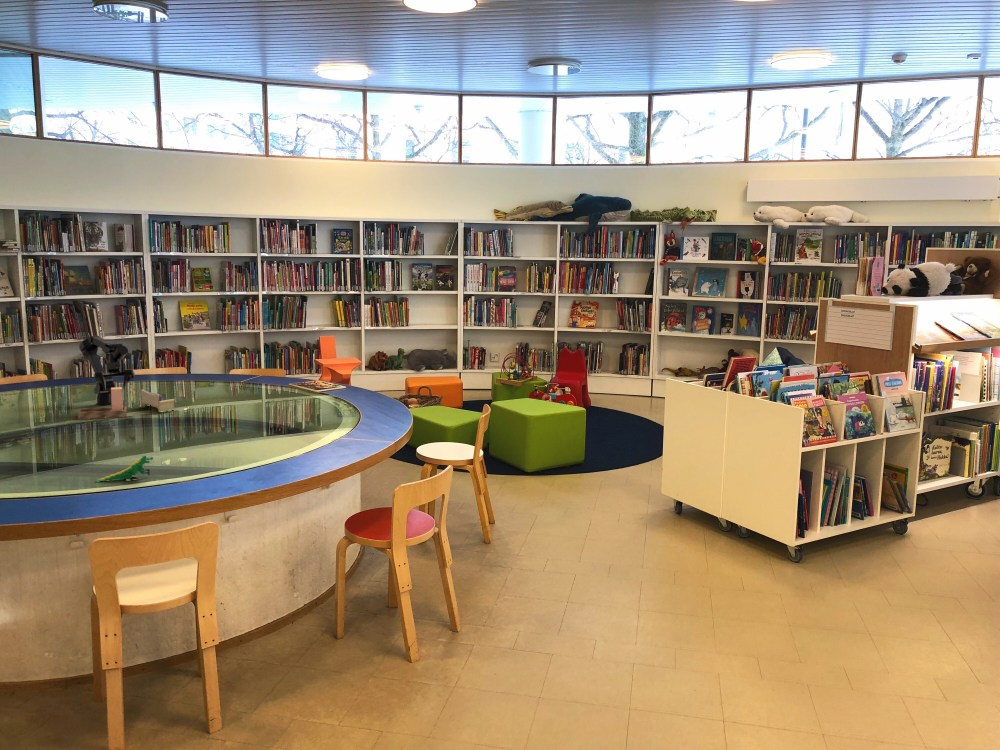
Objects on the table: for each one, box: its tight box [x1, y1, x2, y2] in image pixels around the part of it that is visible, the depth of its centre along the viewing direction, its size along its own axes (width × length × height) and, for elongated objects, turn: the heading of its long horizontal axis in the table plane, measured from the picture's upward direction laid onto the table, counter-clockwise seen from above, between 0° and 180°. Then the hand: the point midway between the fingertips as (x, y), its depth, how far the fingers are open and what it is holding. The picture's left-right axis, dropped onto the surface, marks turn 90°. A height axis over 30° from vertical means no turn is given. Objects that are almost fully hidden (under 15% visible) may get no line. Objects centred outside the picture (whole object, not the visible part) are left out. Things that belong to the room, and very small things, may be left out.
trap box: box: [77, 406, 128, 420], centre depth 407 cm, size 22×10×4 cm, turn 115°
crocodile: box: [95, 455, 154, 483], centre depth 303 cm, size 20×6×9 cm, turn 113°
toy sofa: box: [140, 389, 175, 412], centre depth 428 cm, size 21×9×10 cm, turn 51°
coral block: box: [111, 386, 124, 411], centre depth 409 cm, size 5×5×12 cm
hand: (114, 389), depth 416 cm, fingers open, 9 cm apart
